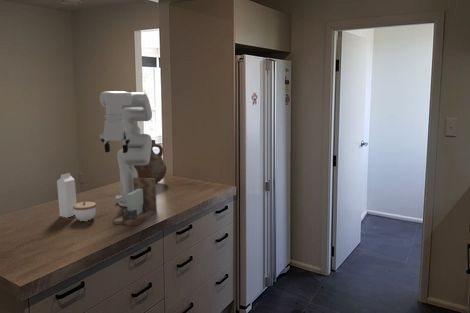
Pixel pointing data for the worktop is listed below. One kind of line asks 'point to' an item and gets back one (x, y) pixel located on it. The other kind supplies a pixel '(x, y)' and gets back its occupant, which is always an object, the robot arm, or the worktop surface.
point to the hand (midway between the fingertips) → (116, 152)
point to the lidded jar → (84, 210)
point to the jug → (153, 165)
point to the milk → (66, 195)
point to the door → (135, 201)
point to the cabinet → (148, 201)
